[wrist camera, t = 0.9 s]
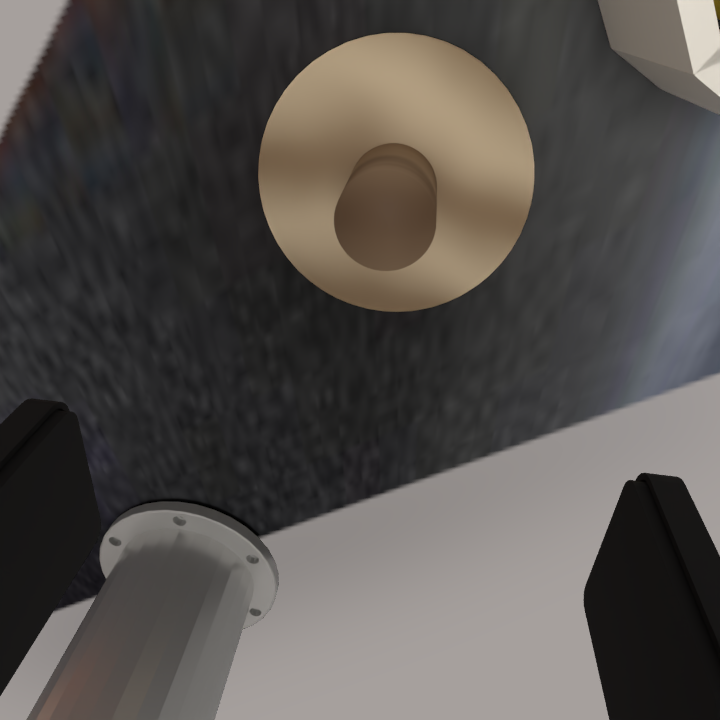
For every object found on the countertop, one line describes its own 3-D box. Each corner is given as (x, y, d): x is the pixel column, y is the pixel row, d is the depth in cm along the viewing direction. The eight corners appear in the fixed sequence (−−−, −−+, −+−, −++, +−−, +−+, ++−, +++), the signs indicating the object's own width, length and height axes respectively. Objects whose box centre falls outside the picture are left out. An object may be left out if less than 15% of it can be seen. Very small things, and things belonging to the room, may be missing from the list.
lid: (505, 316, 32) (517, 376, 27) (265, 292, 33) (234, 346, 28) (560, 43, 25) (589, 55, 20) (258, 21, 26) (216, 28, 21)
